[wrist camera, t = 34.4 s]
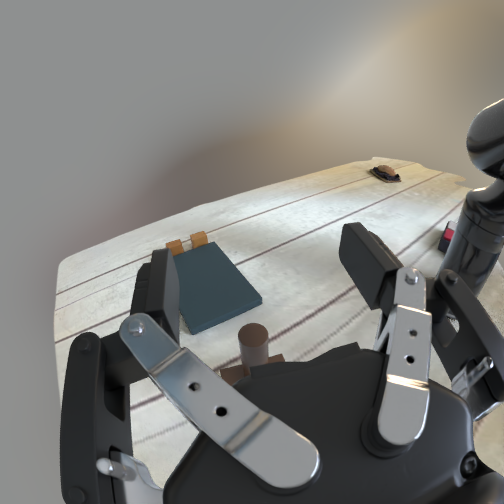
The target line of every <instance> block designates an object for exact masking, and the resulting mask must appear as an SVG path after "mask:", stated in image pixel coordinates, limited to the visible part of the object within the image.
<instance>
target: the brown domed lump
mask: <svg viewBox="0 0 504 504" xmlns="http://www.w3.org/2000/svg"><path fill="white" fill-rule="evenodd" d="M370 171H371V172H372V173H373V174H374V175H376V176H377V177H379V178H380V179H382V180H383V181H385V182H386V183H387V182H388V183H389V182H401V180H400V179H399V174H397V175H396V173H395V172H394V170H393V169H392V168H391V167H389V166H386V165H383V166H378V168H377V167H374V168H373V169H370Z"/></svg>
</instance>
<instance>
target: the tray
mask: <svg viewBox="0 0 504 504" xmlns="http://www.w3.org/2000/svg"><path fill="white" fill-rule="evenodd" d="M173 260H174V263H175V267H176V270H177V274H178V278H179V287H180V291H179V310H180V312H181V314H182V316H183V318H184V320H185V322H186V324H187V326H188V328H189V330H190V332H191V334H192V335H194V334H197V333H199V332H201V331H204V330H206V329H208V328H210V327H213V326H215V325H217V324H219V323H222V322H224V321H226V320H228V319H230V318H233V317H235V316H237V315H239V314H241V313H244V312H246V311H248V310H250V309H252V308H254V307H256V306H258V305H261V304H262V297H261V296H260V295H259V293H258V292H257V291H256V290H255V289H254V288H253V287H252V285H251V284H250V283H249V282H248V281H247V280H246V278H245V277H244V276H243V275H242V274H241V273H240V271H239V270H238V269H237V268H236V267H235V266H234V264H233V263H232V262H231V261H230V260H229V258H228V257H227V256H226V255H225V254H224V253H223V251H222V250H221V249H220V248H219V247H218V245H217V244H216V243H215V242H211V243H208V244H205V245H203V246H200V247H197V248H195V249H192V250H189V251H186V252H184V253H181V254H178V255H176V256H173Z"/></svg>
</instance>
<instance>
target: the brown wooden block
mask: <svg viewBox="0 0 504 504" xmlns="http://www.w3.org/2000/svg"><path fill="white" fill-rule="evenodd" d="M190 238H191V243H192V247H193V249H195V248H197V247H200V246H203V245H205V244H208V239H207V235H206V233H205V232H204V231H202V232H198V233H195V234H192V235H190Z"/></svg>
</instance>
